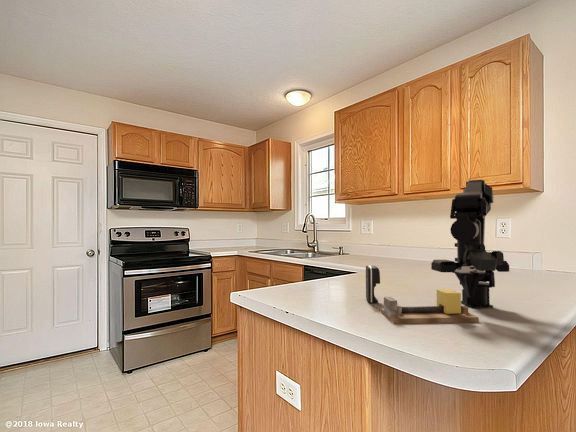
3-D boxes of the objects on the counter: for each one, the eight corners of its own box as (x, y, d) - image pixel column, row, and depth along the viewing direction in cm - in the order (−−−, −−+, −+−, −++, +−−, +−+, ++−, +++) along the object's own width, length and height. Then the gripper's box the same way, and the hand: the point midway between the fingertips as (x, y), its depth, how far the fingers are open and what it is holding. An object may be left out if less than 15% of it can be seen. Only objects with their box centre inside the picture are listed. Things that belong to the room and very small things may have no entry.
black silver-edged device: (381, 304, 99) (380, 267, 100) (368, 303, 100) (368, 267, 100) (377, 298, 106) (376, 264, 106) (365, 298, 107) (365, 264, 107)
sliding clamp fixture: (456, 311, 91) (455, 293, 91) (478, 321, 81) (478, 302, 81) (380, 312, 90) (380, 294, 90) (394, 323, 80) (393, 303, 80)
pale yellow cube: (450, 308, 88) (450, 289, 88) (461, 313, 83) (460, 293, 84) (436, 308, 88) (436, 289, 88) (446, 313, 83) (445, 293, 83)
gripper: (452, 241, 78) (453, 305, 78) (525, 241, 79) (526, 304, 79) (430, 239, 89) (430, 295, 89) (494, 239, 90) (495, 294, 90)
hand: (469, 297), depth 86 cm, fingers closed
